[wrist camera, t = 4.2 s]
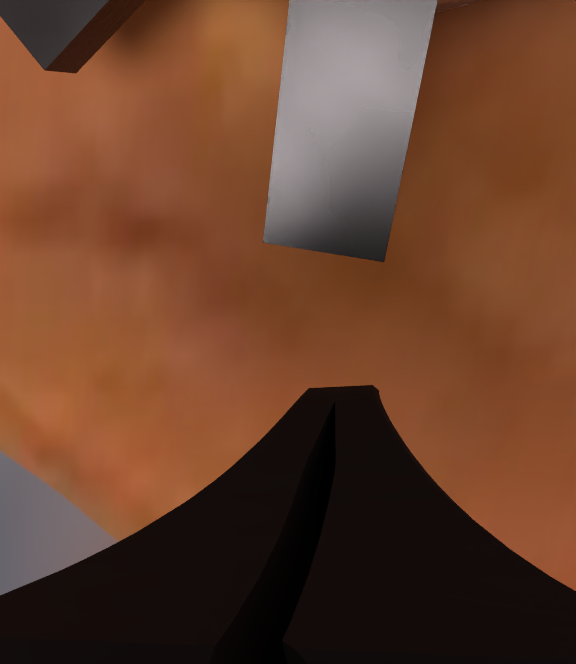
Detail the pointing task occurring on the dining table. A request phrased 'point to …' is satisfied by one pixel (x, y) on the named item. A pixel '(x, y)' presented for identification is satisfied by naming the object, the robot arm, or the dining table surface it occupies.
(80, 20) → the cooker pot
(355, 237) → the lid
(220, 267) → the dining table surface
